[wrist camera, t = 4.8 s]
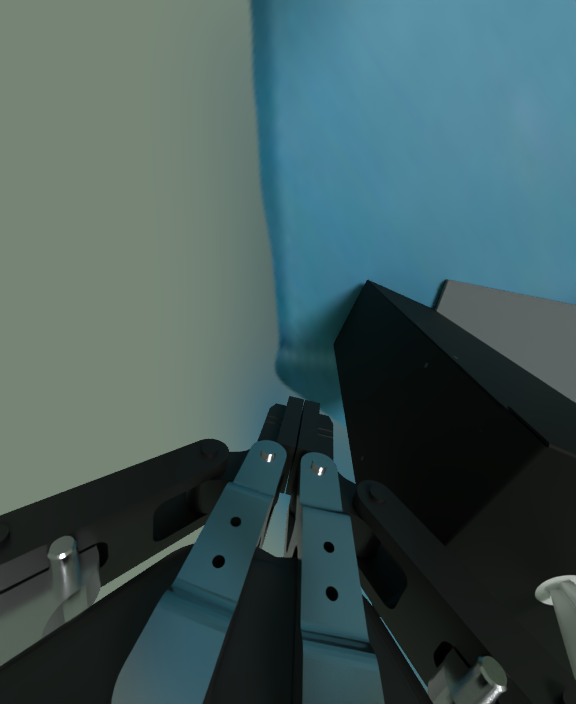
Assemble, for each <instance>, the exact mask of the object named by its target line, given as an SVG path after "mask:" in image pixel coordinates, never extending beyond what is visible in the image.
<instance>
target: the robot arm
mask: <svg viewBox="0 0 576 704" xmlns="http://www.w3.org/2000/svg"><path fill="white" fill-rule="evenodd" d="M303 402H304V399H300V398H295V397H291V396H290V397H289V400H288V403H287V406H285V405H281V404H275V405H274V406H272V407H271V408H270V409H269V412H268V415H267V417H266V420H265V423H264V425H263V428H262V431H261V434H260V436H259V439H258V442H257V443H254V444H253V445H252V447H251V449H249V450H247V451H242V452H229V449H228V447H227V446H226V445H225V444H224V443H223V442H221V441H219V440H215V439H204V440H200V441H197V442H195V443H192V444H190V445H187V446H184V447H182V448H179V449H176V450H174V451H171V452H168V453H166V454H163V455H160V456H158V457H155V458H152V459H150V460H147V461H144V462H142V463H139V464H136V465H134V466H131V467H128V468H126V469H123V470H120V471H118V472H115V473H112V474H110V475H107V476H105V477H102V478H99V479H97V480H94V481H91V482H88V483H86V484H83V485H80V486H78V487H75V488H72V489H70V490H67V491H65V492H62V493H59V494H56V495H54V496H51V497H48V498H46V499H43V500H40V501H38V502H35V503H33V504H30V505H27V506H24V507H22V508H19V509H16V510H14V511H11V512H9V513H6V514H3V515H1V516H0V704H576V680H575V679H574V678H573V677H572V676H571V675H570V674H569V673H568V672H567V671H566V670H565V669H564V668H563V667H562V666H561V665H560V664H559V663H558V662H557V661H556V660H555V659H554V658H553V657H552V656H551V655H550V654H549V652H548V651H547V650H546V649H545V648H544V647H543V646H542V645H541V644H540V643H539V642H538V641H537V640H536V639H535V638H534V637H533V636H532V635H531V634H530V633H529V632H528V631H527V630H526V629H525V628H524V627H523V626H522V625H521V624H520V623H519V622H518V621H517V620H516V619H515V618H514V617H513V616H512V615H511V614H510V612H509V611H508V610H507V609H506V608H505V607H504V606H503V605H502V604H501V603H500V602H499V601H498V600H497V599H496V598H495V597H494V596H493V595H492V594H491V593H490V592H489V591H488V590H487V589H486V588H485V587H484V586H483V585H482V584H481V583H480V582H479V581H478V580H477V579H476V578H475V577H474V576H473V575H472V574H471V573H470V571H469V570H468V569H467V568H466V567H465V566H464V565H463V564H462V563H461V562H460V561H459V560H458V559H457V558H456V557H455V556H454V555H453V554H452V553H451V552H450V551H449V550H448V549H447V548H446V547H445V546H444V545H443V544H442V543H441V542H440V541H439V540H438V539H437V538H436V537H435V536H434V535H433V534H432V533H431V531H430V530H429V529H428V528H427V527H426V526H425V525H424V524H423V523H422V522H421V521H420V520H419V519H418V518H417V517H416V516H415V515H414V514H413V513H412V512H411V511H410V510H409V509H408V508H407V507H406V506H405V505H404V504H403V503H402V502H401V501H400V500H399V499H398V498H397V497H396V496H395V495H394V494H393V493H392V491H391V490H389V489H388V488H387V487H386V486H385V485H383V484H381V483H379V482H376V481H373V480H365V481H362V482H360V483H359V485H356V484H354V483H353V482H351V481H349V480H347V479H345V478H344V477H343V476H342V475H341V474H339V472H338V471H337V466H336V464H335V463H334V461H333V423H332V421H331V419H330V418H329V416H326V415H322V414H319V410H320V403H316V402H312V401H308V400H305V402H304V406H303ZM302 408H303V410H302ZM289 471H290V472H289ZM288 475H289V478H288ZM287 479H288V483H287ZM286 483H287V489H286V494H288V495H291V498H290V504H289V507H288V511H287V519H286V533H285V545H284V557H274V556H273V555H271V554H269V553H268V552H266V551H264V550H262V546H263V543H264V540H265V537H266V533H267V530H268V527H269V523H270V520H271V517H272V514H273V511H274V506H275V505H276V503H277V501H278V498H279V493H284V491H285V487H286ZM203 525H204V527H203V529H202V531H201V533H200V535H199V537H198V538H197V540H196V542H195V544H191V545H188V546H185V547H182V548H180V549H178V550H176V551H174V552H172V553H170V554H169V555H167V556H166V557H164V558H163V559H161V560H160V561H158V562H157V563H155V564H154V565H152V566H151V567H149V568H148V569H146V570H145V571H143V572H142V573H140V574H139V575H137V576H136V577H134V578H132V579H131V580H129V581H128V582H127V583H125V584H123V585H122V586H120V587H119V588H117V589H116V590H115V591H113V592H112V593H110V594H108V595H107V596H105V597H104V598H102V599H101V600H99V601H98V602H96V603H95V604H93V603H94V601H95V600H96V598H97V596H98V594H99V591H100V587H102V586H104V585H105V584H107V583H109V582H110V581H112V580H114V579H115V578H117V577H119V576H120V575H122V574H124V573H125V572H127V571H129V570H130V569H132V568H134V567H135V566H137V565H139V564H140V563H142V562H143V561H145V560H147V559H149V558H150V557H152V556H153V555H155V554H157V553H159V552H160V551H162V550H164V549H165V548H167V547H169V546H170V545H172V544H174V543H175V542H177V541H179V540H180V539H182V538H183V537H185V536H187V535H189V534H190V533H192V532H194V531H195V530H197V529H198V528H200V527H202V526H203ZM381 542H382V544H383V545H384V546H385V547H386V549H387V550H388V551H389V552H390V553H391V555H392V556H393V557H394V558H395V560H396V561H397V562H398V563H399V565H400V566H401V567H402V569H403V570H404V572H405V574H406V576H405V574H404V573H403V572H402V571H401V569H400V568H399V567H398V566H397V564H396V563H395V562H394V561H393V559H392V558H391V557H390V556H389V554H388V553H387V552H386V551H385V549H384V548H383V547H382V546H381ZM361 587H362V589H363V590H364V592H365V593H366V595H367V596H368V598H369V600H370V601H371V603H372V604H373V606H374V607H375V609H376V610H377V612H378V613H379V615H380V616H381V618H382V619H383V621H384V622H385V624H386V625H387V627H388V628H389V630H390V631H391V633H392V634H393V636H394V637H395V639H396V640H397V642H398V644H399V645H400V647H401V648H402V650H403V651H404V653H405V654H406V655H407V657H408V659H409V660H410V662H411V663H412V665H413V666H414V668H415V669H416V671H417V672H418V674H419V675H420V677H421V678H422V680H423V681H424V683H425V684H426V686H427V687H428V694H427V692H426V691H425V689H424V688H423V686H422V684H421V683H420V681H419V680H418V678H417V677H416V675H415V674H414V672H413V670H412V668H411V667H410V665H409V664H408V662H407V660H406V659H405V657H404V655H403V654H402V652H401V651H400V649H399V647H398V646H397V644H396V643H395V641H394V639H393V638H392V636H391V635H390V633H389V632H388V630H387V628H386V627H385V625H384V623H383V622H382V620H381V619H380V617H379V615H378V614H377V612H376V611H375V609H374V608H373V607H372V605H371V604H370V603H369V601H368V600H367V599H366V598H365V597H364V596H363V595H362V592H361ZM92 604H93V605H92Z"/></svg>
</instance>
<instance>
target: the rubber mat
mask: <svg viewBox="0 0 576 704" xmlns="http://www.w3.org/2000/svg"><path fill="white" fill-rule="evenodd" d="M435 310H436V311H437V312H439V313H440V314H442V315H443V316H445V317H446V318H448V319H449V320H451V321H452V322H454V323H455V324H457V325H458V326H460V327H461V328H463V329H464V330H466V331H467V332H469V333H470V334H472V335H473V336H475V337H476V338H478V339H480V340H481V341H483V342H484V343H486V344H487V345H489V346H490V347H492V348H493V349H495V350H496V351H498V352H499V353H501V354H502V355H504V356H505V357H507V358H508V359H510V360H511V361H513V362H514V363H516V364H517V365H519V366H520V367H522V368H523V369H525V370H527V371H528V372H530V373H531V374H533V375H534V376H536V377H537V378H539V379H540V380H542V381H543V382H545V383H546V384H548V385H549V386H551V387H552V388H554V389H555V390H557V391H558V392H560V393H561V394H563V395H564V396H566V397H567V398H569V399H570V400H572V401H574V402H575V403H576V305H573V304H568V303H563V302H558V301H553V300H548V299H543V298H538V297H533V296H528V295H523V294H518V293H513V292H508V291H503V290H498V289H493V288H488V287H483V286H478V285H473V284H468V283H463V282H458V281H453V280H448V279H446V282H445V284H444V287H443V290H442V292H441V295H440V297H439V300H438V303H437V305H436V308H435Z"/></svg>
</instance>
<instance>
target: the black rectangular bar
mask: <svg viewBox="0 0 576 704" xmlns="http://www.w3.org/2000/svg"><path fill="white" fill-rule="evenodd" d="M333 345H334V351H335V357H336V363H337V370H338V376H339V382H340V388H341V395H342V401H343V407H344V413H345V420H346V426H347V432H348V438H349V445H350V451H351V457H352V464H353V470H354V476H355V482H356V485H359V483H360V482H362V481H365V480H373V481H376V482H379V483H381V484H383V485H385V486H386V487H387V488H388V489H389V490H391V491H392V493H393V494H394V495H395V496H396V497H397V498H398V499H399V500H400V501H401V502H402V503H403V504H404V505H405V506H406V507H407V508H408V509H409V510H410V511H411V512H412V513H413V514H414V515H415V516H416V517H417V518H418V519H419V520H420V521H421V522H422V523H423V524H424V525H425V526H426V527H427V528H428V529H429V530H430V531H431V533H432V534H433V535H434V536H435V537H436V538H437V539H438V540H439V541H440V542H441V543H442V544H443V545H444V546H445V547H446V548H447V549H448V550H449V551H450V552H451V553H452V554H453V555H454V556H455V557H456V558H457V559H458V560H459V561H460V562H461V563H462V564H463V565H464V566H465V567H466V568H467V569H468V570H469V571H470V573H471V574H472V575H473V576H474V577H475V578H476V579H477V580H478V581H479V582H480V583H481V584H482V585H483V586H484V587H485V588H486V589H487V590H488V591H489V592H490V593H491V594H492V595H493V596H494V597H495V598H496V599H497V600H498V601H499V602H500V603H501V604H502V605H503V606H504V607H505V608H506V609H507V610H508V611H509V612H510V614H511V615H512V616H513V617H514V618H515V619H516V620H517V621H518V622H519V623H520V624H521V625H522V626H523V627H524V628H525V629H526V630H527V631H528V632H529V633H530V634H531V635H532V636H533V637H534V638H535V639H536V640H537V641H538V642H539V643H540V644H541V645H542V646H543V647H544V648H545V649H546V650H547V651H548V652H549V654H550V655H551V656H552V657H553V658H554V659H555V660H556V661H557V662H558V663H559V664H560V665H561V666H562V667H563V668H564V669H565V670H566V671H567V672H568V673H569V674H570V675H571V676H572V677H573V678H574V679H575V680H576V403H575V402H574V401H572V400H570V399H569V398H567V397H566V396H564V395H563V394H561V393H560V392H558V391H557V390H555V389H554V388H552V387H551V386H549V385H548V384H546V383H545V382H543V381H542V380H540V379H539V378H537V377H536V376H534V375H533V374H531V373H530V372H528V371H527V370H525V369H523V368H522V367H520V366H519V365H517V364H516V363H514V362H513V361H511V360H510V359H508V358H507V357H505V356H504V355H502V354H501V353H499V352H498V351H496V350H495V349H493V348H492V347H490V346H489V345H487V344H486V343H484V342H483V341H481V340H480V339H478V338H476V337H475V336H473V335H472V334H470V333H469V332H467V331H466V330H464V329H463V328H461V327H460V326H458V325H457V324H455V323H454V322H452V321H451V320H449V319H448V318H446V317H445V316H443V315H442V314H440V313H439V312H437V311H436V310H434V309H432V308H430V307H427V306H425V305H423V304H421V303H418V302H416V301H414V300H412V299H410V298H407V297H405V296H403V295H401V294H398V293H396V292H394V291H392V290H390V289H387V288H385V287H383V286H381V285H378V284H376V283H374V282H372V281H369V280H367V281H366V283H365V285H364V287H363V289H362V291H361V292H360V294H359V296H358V298H357V300H356V302H355V304H354V306H353V308H352V310H351V312H350V314H349V315H348V317H347V319H346V321H345V323H344V325H343V327H342V329H341V331H340V333H339V335H338V337H337V338H336V340H335V342H334V344H333ZM381 546H382V547H383V548H384V549H385V551H386V552H387V553H388V554H389V556H390V557H391V558H392V559H393V561H394V562H395V563H396V564H397V566H398V567H399V568H400V569H401V571H402V572H403V573H404V574H405V572H404V570H403V569H402V567H401V566H400V565H399V563H398V562H397V561H396V560H395V558H394V557H393V556H392V555H391V553H390V552H389V551H388V550H387V549H386V547H385V546H384V545H383V544H382V542H381ZM405 576H406V574H405ZM372 607H373V608H374V609H375V607H374V606H373V604H372ZM375 611H376V612H377V610H376V609H375ZM377 614H378V615H379V613H378V612H377ZM379 617H381V616H380V615H379Z"/></svg>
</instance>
